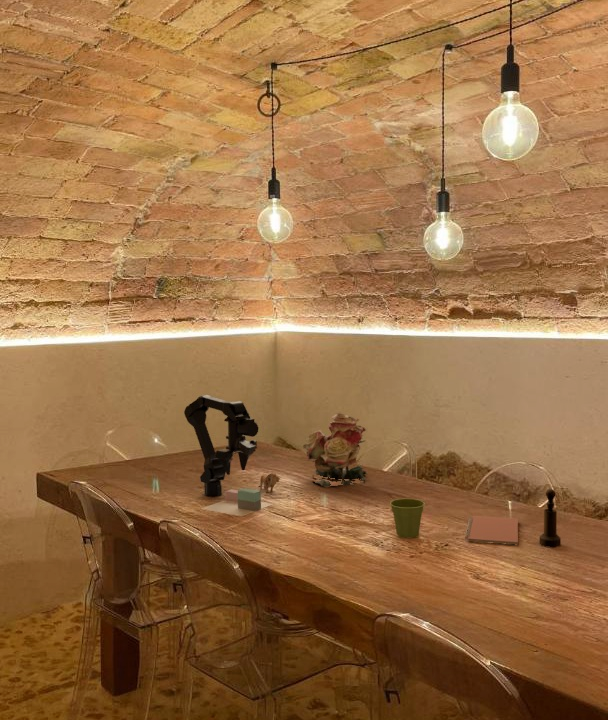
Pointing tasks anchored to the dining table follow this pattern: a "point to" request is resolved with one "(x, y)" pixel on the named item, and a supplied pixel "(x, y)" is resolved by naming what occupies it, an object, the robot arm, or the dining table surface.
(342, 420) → the rose bouquet
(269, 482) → the lion figurine
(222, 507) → the baseplate
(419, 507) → the plant pot
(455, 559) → the dining table surface
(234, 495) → the mauve brick
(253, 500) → the teal brick
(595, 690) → the dining table surface
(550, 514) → the black pepper mill
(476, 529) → the notebook
